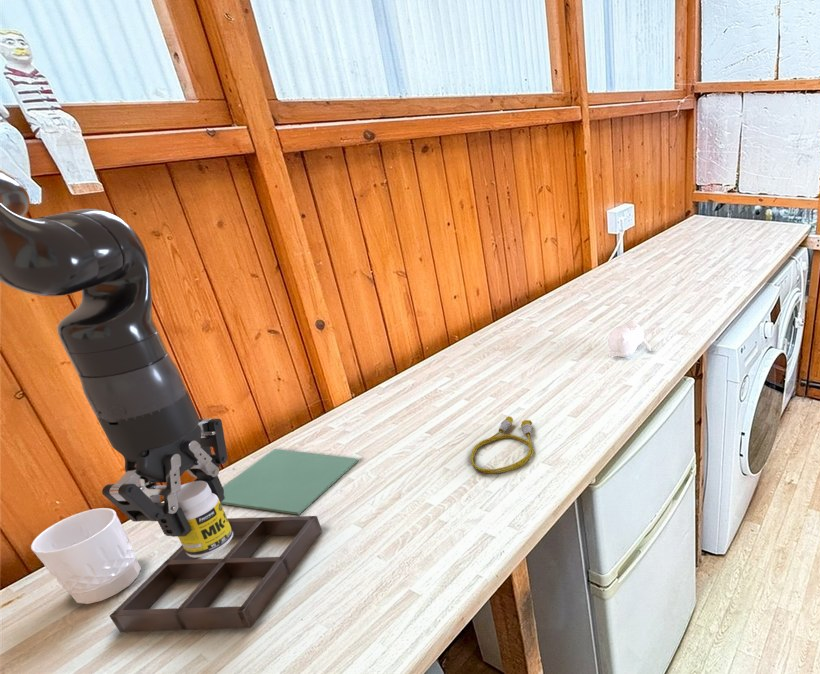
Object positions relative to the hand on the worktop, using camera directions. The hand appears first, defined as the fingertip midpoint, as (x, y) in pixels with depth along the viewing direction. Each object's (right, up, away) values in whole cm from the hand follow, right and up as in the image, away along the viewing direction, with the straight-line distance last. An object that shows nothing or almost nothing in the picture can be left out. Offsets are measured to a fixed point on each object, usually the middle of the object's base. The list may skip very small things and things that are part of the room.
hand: (198, 517), depth 64 cm
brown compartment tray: (-3, -11, +9) cm, 15 cm away
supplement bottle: (0, -4, +2) cm, 5 cm away
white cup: (-20, -12, +9) cm, 25 cm away
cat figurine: (+50, +18, +72) cm, 90 cm away
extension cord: (+28, +1, +35) cm, 45 cm away
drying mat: (-9, -3, +28) cm, 29 cm away
